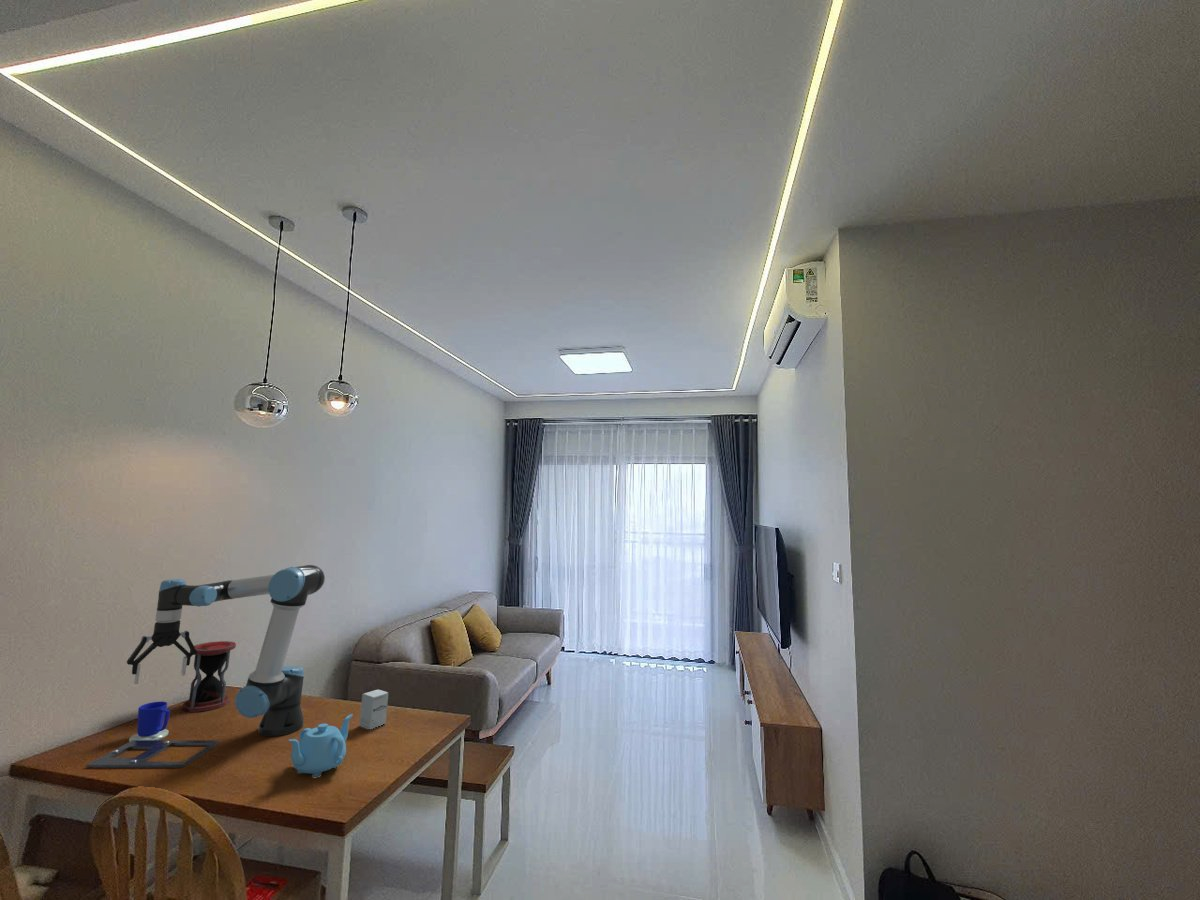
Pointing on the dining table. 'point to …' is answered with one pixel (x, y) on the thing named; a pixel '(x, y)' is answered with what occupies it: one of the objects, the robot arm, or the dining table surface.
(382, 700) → the supplement box
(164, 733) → the pale grey rounded piece
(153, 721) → the mug
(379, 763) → the dining table surface
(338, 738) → the teapot
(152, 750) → the gray cutout board
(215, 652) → the hourglass
